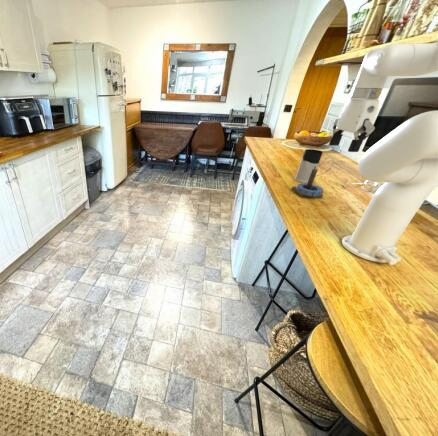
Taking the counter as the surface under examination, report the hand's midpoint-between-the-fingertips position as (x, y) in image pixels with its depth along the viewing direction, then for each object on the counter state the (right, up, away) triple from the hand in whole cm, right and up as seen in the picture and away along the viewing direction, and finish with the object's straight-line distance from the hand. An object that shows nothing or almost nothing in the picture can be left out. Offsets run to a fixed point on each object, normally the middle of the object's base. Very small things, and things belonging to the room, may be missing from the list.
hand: (342, 148), depth 86 cm
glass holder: (+13, -6, +37) cm, 40 cm away
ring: (+3, -13, +22) cm, 26 cm away
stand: (+3, -14, +24) cm, 28 cm away
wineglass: (+26, -8, +30) cm, 40 cm away
